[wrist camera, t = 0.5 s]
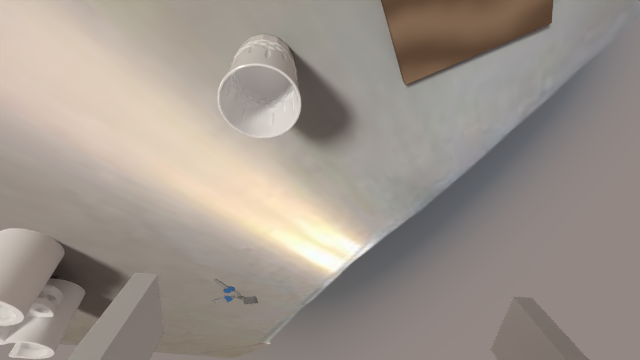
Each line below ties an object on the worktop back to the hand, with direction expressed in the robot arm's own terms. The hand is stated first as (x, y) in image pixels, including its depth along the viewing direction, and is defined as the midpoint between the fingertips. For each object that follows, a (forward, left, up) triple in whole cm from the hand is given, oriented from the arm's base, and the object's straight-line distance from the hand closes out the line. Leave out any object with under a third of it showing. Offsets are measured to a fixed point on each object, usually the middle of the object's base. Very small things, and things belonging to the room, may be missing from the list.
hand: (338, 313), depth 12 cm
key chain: (+45, -42, -33) cm, 69 cm away
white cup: (+1, -6, -32) cm, 33 cm away
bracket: (+18, -65, -32) cm, 75 cm away
